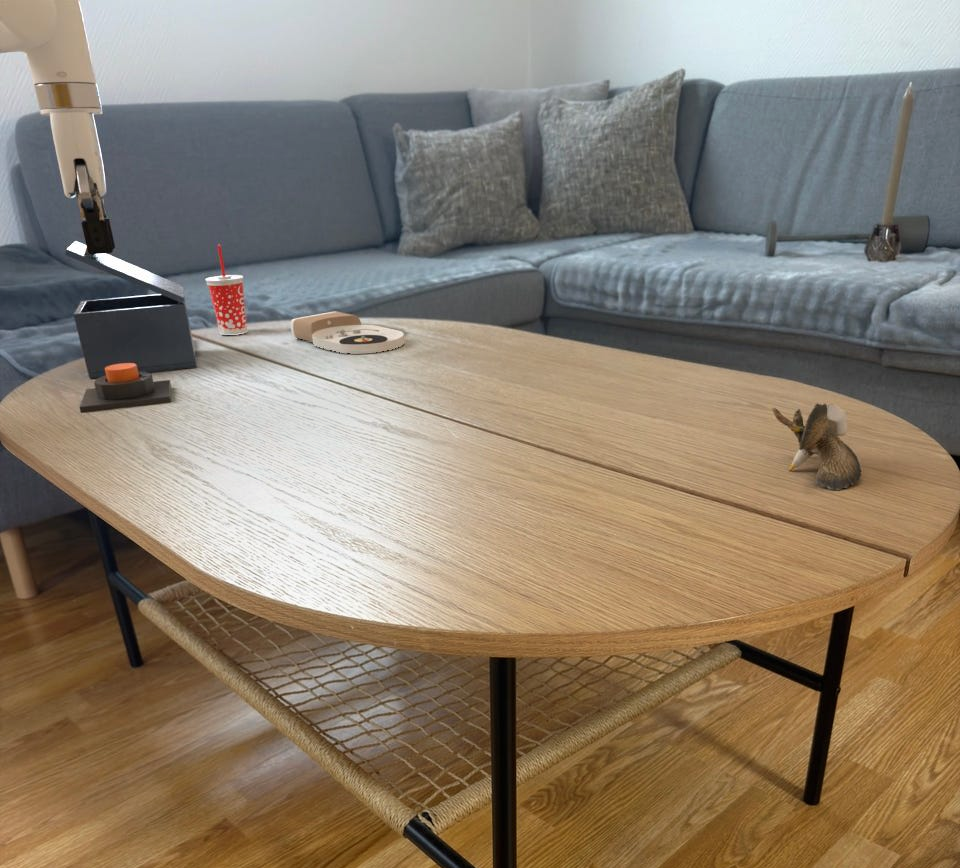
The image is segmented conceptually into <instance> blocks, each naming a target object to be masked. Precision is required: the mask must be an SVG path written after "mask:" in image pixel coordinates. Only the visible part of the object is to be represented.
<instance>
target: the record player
mask: <svg viewBox="0 0 960 868" xmlns="http://www.w3.org/2000/svg"><path fill="white" fill-rule="evenodd" d="M290 332H291V336H292V337H293V338H294V337H295V338H294V339H296V338H299V339H298V340H300V339H303V340H302V341H304V340H307V341H306V342H308V341H311V342H313V343H312V344H313V346H315V347H316V346H317V347H316V348H319V347H320V349H323V348H324V349H323V350H327V351H330V350H332V351H331V352H334V351H336V352H335V353H339V352H340V354H347V353H350V354H349V355H359V354H360V355H362V354H377V353H383V352H382V351H384V352H388V351H387V350H389V351H392V349H393V350H396V349H399V348H401V347H403V346H404V345H405V333H404V332H403V331H401V330H398V329H393V328H390V327H384V326H380V325H379V326H378V325H374V324H373V325H372V324H362V322H361V319H360V317H358V316H357V315H356V314H350V313H346V312H340V311H337V310H335V311H328V312H322V313H317V314H312V315H307V316H301V317H296V318H293V319H291V320H290ZM311 342H310V343H311ZM403 344H404V345H403ZM402 345H403V346H402ZM398 347H399V348H398ZM395 348H396V349H395ZM376 352H377V353H376Z"/></svg>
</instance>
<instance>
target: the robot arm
mask: <svg viewBox="0 0 960 868" xmlns="http://www.w3.org/2000/svg"><path fill="white" fill-rule="evenodd" d="M17 52H18V53H20V52H22V53H24V54H26V57H27V61H28V65H29V70H30V74H31V79H32V82H33V86H34V90H35V95H36V99H37V104H38V108H39V113H40V115H41V116H48V117H49V120H50V128H51V133H52V139H53V145H54V149H55V154H56V157H57V158H56V159H57V163H58V169H59V172H60V178H61V183H62V188H63V193H64V196H65V197H66V198H67V199H74V198H76V199H77V202H78V207H79V212H80V217H81V221H82V222H80V223H81V228H82V232H83V236H84V241H85V245H86V246H87V250H88V253H89V254H104V253H105V254H112V253H114V252H113V251H114V249H115V248H116V244H115V239H114V234H113V230H112V226H111V221H110V218H108V214H107V209H106V205H105V200H104V196H105V195H106V194H107V182H106V176H105V175H106V173H105V169H104V162H103V156H102V151H101V145H100V140H99V136H98V131H97V126H96V121H95V116H94V115H102V114H103V108H102V103H101V98H100V93H99V88H98V84H97V79H96V75H95V70H94V64H93V60H92V54H91V50H90V44H89V39H88V36H87V30H86V26H85V21H84V15H83V11H82V6H81V2H80V0H0V54H6V53H17Z"/></svg>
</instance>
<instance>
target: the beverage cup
mask: <svg viewBox="0 0 960 868" xmlns="http://www.w3.org/2000/svg"><path fill="white" fill-rule="evenodd" d="M217 251H218V256H219V257H218V258H219V264H220V269H221V275H217V276H209V277H207V278H205V282H206V286H207V287H208V290H209V294H210V295H209V296H210V298H211V302H212V307H213V310H214V315H215V319H216V323H217V327H218V332H219V335H220V334H238V333H243V332H246V331H248V321H247V313H246V312H247V311H246V304H245V294H244V285H243V283H244V275H240V274H226V271H225V264H224V259H223V251H222V246H221V244H217Z"/></svg>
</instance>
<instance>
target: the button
mask: <svg viewBox="0 0 960 868" xmlns="http://www.w3.org/2000/svg"><path fill="white" fill-rule="evenodd" d="M105 372H106V376H107V380H108V382H125V381H131V380H135V379H138V378H139V374H138V369H137V365H136V364H134V363H121V364H114V365H110V366H107V367H105Z"/></svg>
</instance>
